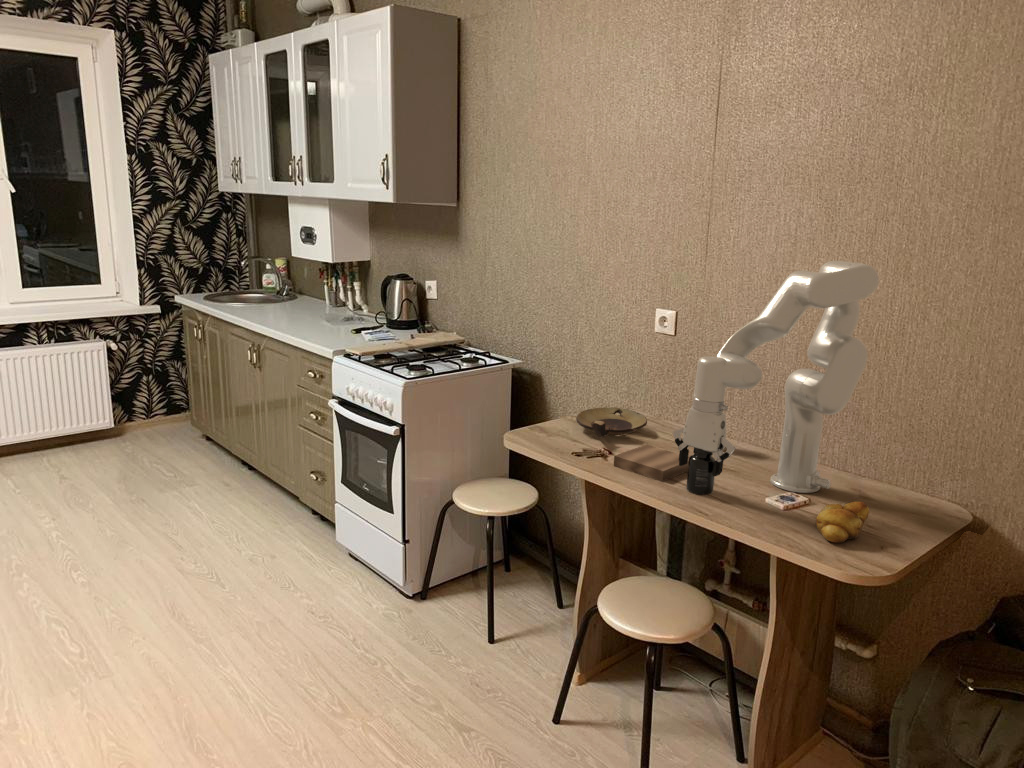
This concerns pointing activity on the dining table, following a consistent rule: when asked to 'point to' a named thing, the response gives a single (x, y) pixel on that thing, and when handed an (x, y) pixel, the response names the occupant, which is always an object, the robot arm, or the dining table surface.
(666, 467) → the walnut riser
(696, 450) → the supplement bottle
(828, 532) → the bread roll
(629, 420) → the olive brown shallow dish
